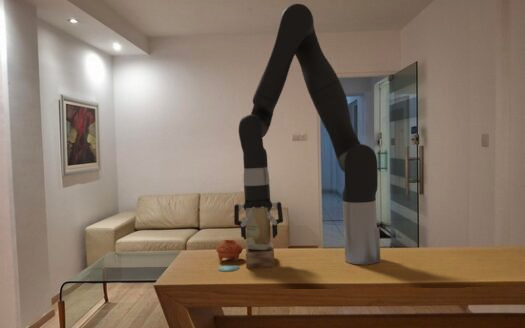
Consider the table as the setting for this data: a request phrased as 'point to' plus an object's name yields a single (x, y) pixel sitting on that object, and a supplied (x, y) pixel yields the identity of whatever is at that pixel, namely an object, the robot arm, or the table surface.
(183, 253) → the table surface
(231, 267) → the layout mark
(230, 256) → the pot
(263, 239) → the skincare box
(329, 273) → the table surface
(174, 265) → the table surface
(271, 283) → the table surface
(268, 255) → the open wooden box
